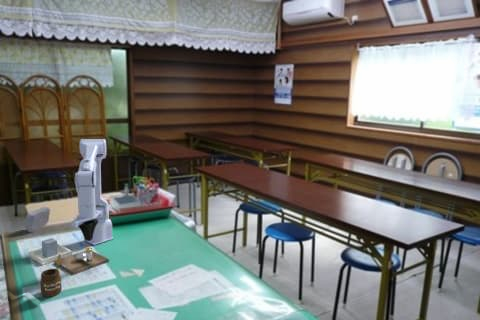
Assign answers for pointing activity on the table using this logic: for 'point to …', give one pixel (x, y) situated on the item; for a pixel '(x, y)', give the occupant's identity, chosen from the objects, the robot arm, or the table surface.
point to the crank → (85, 256)
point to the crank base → (80, 263)
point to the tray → (39, 257)
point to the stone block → (37, 219)
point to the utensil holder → (50, 281)
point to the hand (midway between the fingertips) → (88, 239)
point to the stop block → (49, 248)
